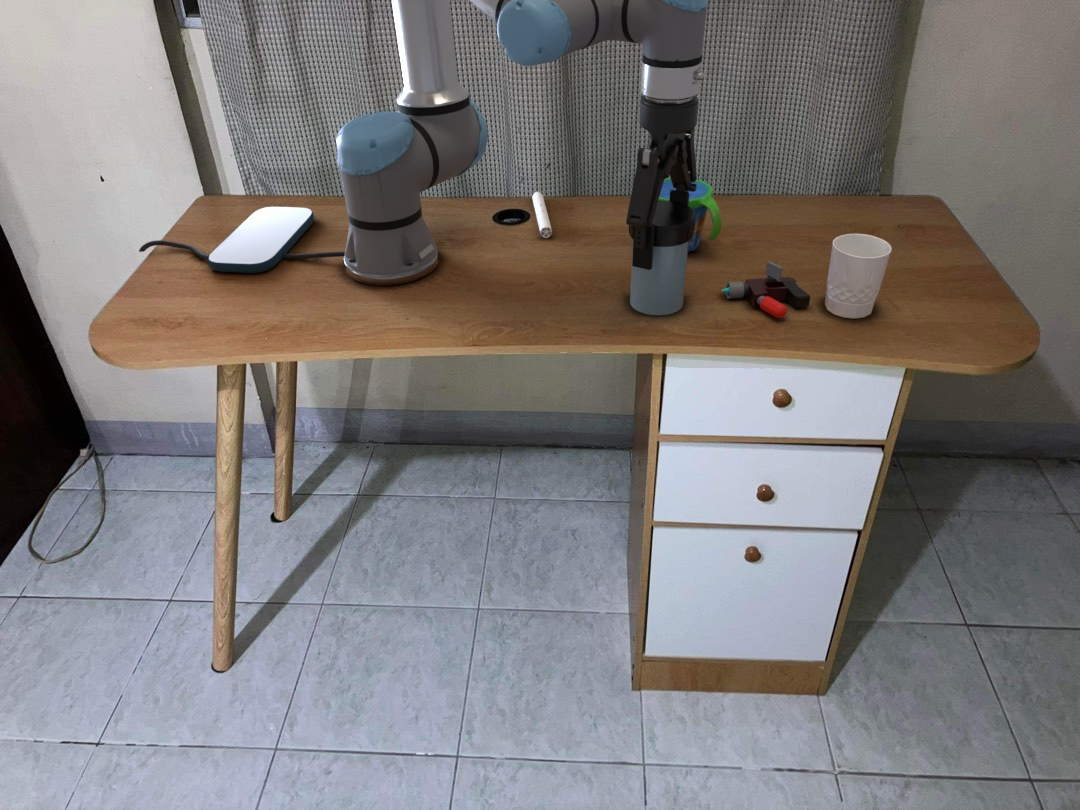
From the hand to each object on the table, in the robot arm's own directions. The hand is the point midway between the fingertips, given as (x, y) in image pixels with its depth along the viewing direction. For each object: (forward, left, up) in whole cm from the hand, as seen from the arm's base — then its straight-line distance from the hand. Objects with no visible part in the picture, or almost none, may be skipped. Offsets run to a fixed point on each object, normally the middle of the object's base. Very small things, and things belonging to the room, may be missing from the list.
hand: (659, 249), depth 120 cm
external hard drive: (-69, +12, -9) cm, 71 cm away
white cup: (+28, +2, -9) cm, 29 cm away
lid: (0, 0, +5) cm, 5 cm away
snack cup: (+2, +20, -9) cm, 22 cm away
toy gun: (+16, +1, -9) cm, 18 cm away
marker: (-23, +29, -9) cm, 38 cm away
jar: (0, 0, -9) cm, 9 cm away
